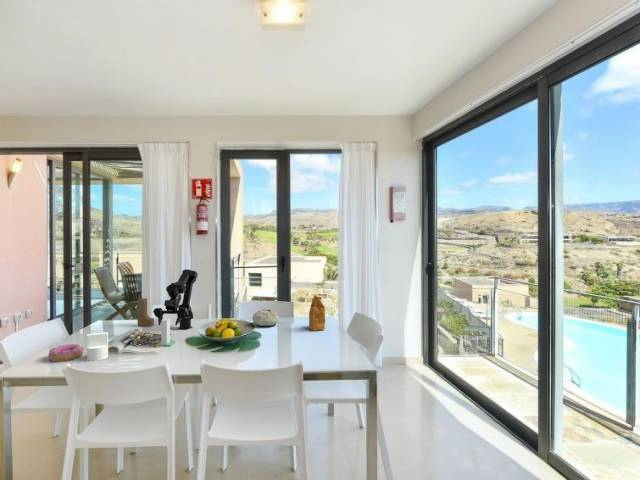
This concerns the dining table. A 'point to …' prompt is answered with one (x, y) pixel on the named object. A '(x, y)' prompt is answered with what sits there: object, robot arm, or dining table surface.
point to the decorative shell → (265, 317)
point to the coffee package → (317, 314)
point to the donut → (66, 352)
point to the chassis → (142, 339)
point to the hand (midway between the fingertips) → (167, 325)
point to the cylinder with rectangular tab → (97, 346)
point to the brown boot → (144, 313)
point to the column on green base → (165, 334)
